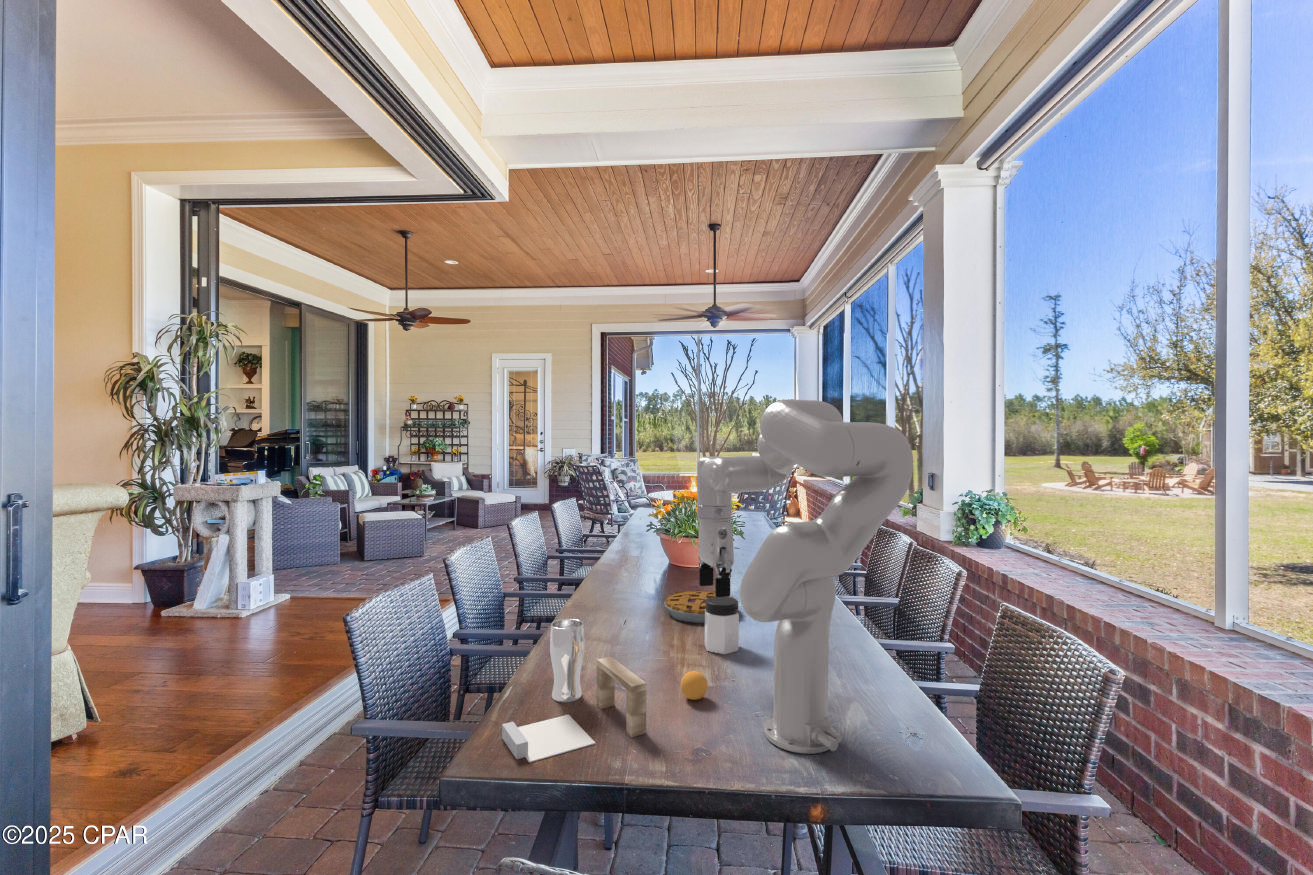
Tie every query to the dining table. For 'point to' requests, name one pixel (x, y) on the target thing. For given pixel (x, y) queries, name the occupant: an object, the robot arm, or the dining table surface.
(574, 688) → the beer glass
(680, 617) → the pie
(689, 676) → the ball
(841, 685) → the dining table surface
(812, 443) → the robot arm
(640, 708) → the bridge
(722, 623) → the jar
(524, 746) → the stopper wall
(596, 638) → the dining table surface
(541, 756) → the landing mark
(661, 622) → the dining table surface
